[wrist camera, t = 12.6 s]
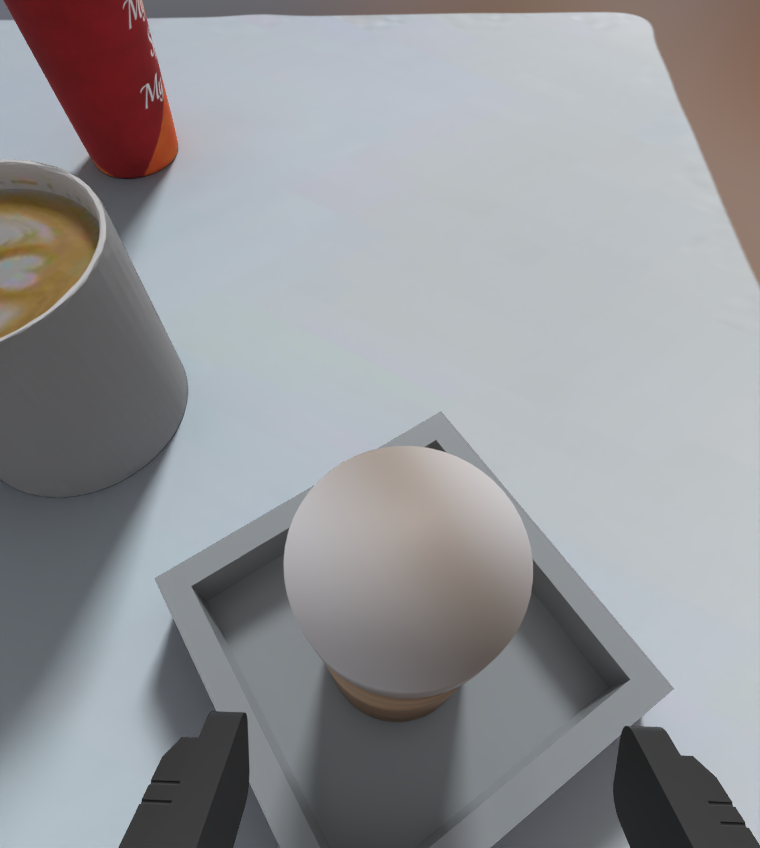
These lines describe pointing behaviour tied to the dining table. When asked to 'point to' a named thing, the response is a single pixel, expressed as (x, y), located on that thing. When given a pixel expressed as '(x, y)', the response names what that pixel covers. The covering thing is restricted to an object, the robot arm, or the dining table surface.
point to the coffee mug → (76, 342)
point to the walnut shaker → (407, 577)
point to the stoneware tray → (421, 738)
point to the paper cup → (104, 79)
